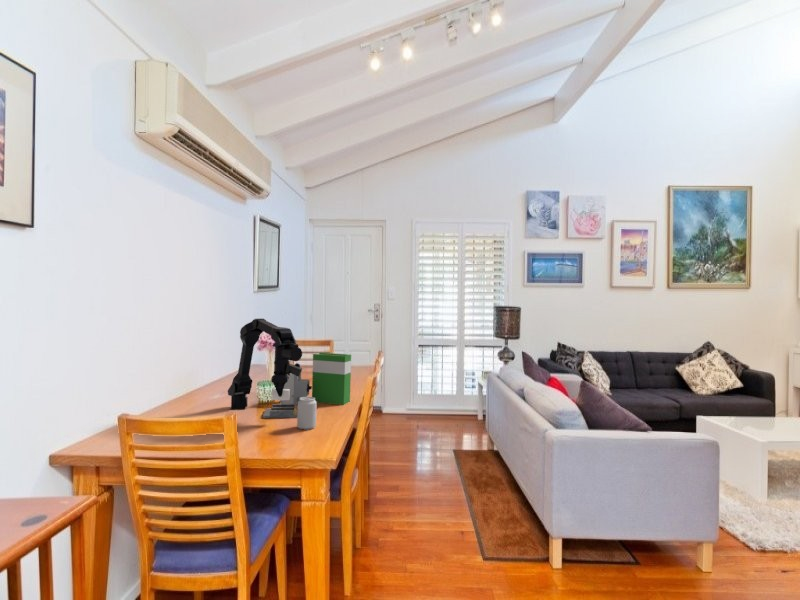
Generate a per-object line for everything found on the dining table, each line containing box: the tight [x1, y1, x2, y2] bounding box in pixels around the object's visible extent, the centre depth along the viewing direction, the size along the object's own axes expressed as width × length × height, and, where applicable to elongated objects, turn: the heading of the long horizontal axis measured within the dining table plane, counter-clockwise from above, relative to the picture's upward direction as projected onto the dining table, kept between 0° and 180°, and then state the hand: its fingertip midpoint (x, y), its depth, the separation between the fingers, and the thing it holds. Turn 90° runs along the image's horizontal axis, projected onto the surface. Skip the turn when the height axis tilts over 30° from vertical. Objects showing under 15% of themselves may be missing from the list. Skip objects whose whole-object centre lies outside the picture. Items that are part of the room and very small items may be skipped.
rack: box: [262, 403, 298, 419], centre depth 201 cm, size 16×13×3 cm
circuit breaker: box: [279, 373, 312, 406], centre depth 223 cm, size 8×14×15 cm, turn 89°
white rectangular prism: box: [271, 388, 290, 401], centre depth 188 cm, size 7×3×4 cm, turn 101°
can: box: [296, 396, 318, 431], centre depth 181 cm, size 8×8×12 cm
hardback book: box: [311, 352, 352, 406], centre depth 228 cm, size 18×7×24 cm, turn 72°
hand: (280, 395), depth 188 cm, fingers closed on white rectangular prism, 3 cm apart
